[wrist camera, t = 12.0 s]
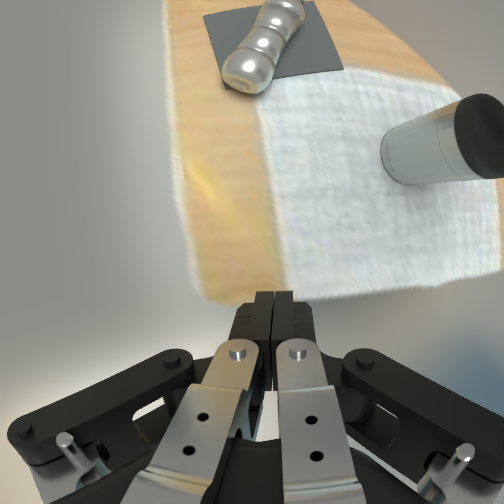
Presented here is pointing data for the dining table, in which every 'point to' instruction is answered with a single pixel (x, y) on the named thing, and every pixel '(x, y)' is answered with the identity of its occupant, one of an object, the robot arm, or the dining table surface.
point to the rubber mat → (295, 51)
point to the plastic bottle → (263, 46)
